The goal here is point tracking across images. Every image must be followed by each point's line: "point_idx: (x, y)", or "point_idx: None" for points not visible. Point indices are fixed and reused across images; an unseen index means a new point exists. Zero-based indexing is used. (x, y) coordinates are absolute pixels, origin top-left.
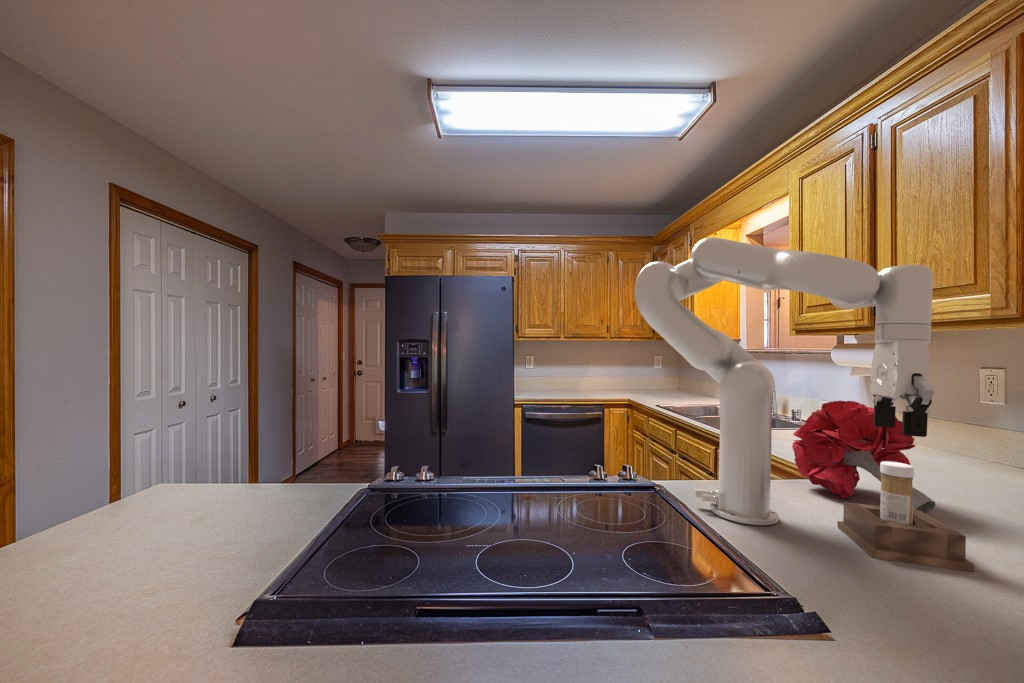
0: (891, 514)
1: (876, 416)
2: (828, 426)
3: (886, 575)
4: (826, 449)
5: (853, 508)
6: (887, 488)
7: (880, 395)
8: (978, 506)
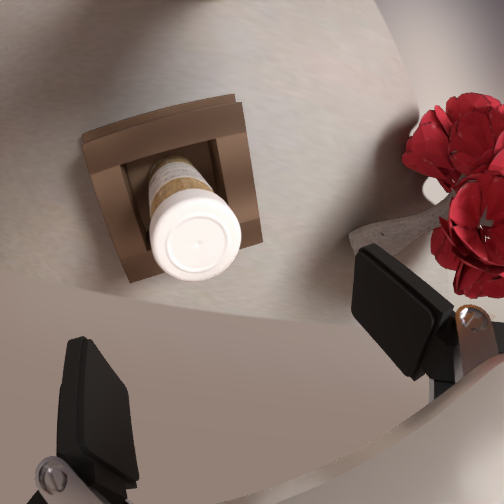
0: (152, 182)
1: (388, 278)
2: None
3: (21, 151)
4: (484, 152)
5: (193, 114)
6: (160, 191)
7: (358, 459)
8: None
